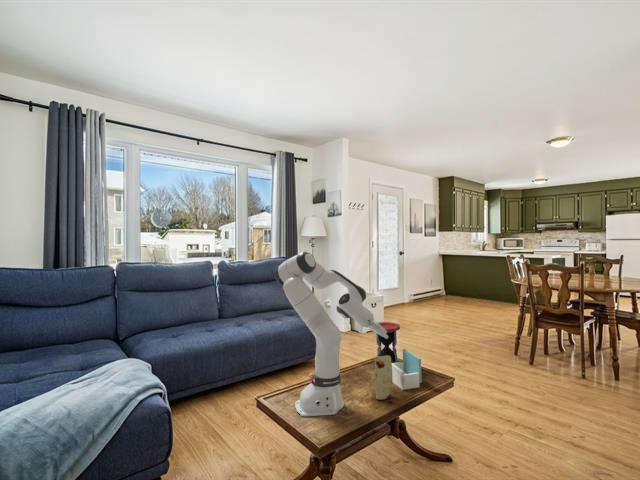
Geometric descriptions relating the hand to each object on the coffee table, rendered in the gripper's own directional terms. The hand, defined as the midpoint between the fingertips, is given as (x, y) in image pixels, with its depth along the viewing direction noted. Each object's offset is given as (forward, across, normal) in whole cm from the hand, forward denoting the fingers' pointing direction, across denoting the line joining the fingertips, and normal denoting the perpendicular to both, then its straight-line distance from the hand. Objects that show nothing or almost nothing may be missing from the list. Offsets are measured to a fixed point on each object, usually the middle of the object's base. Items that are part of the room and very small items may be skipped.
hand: (383, 335), depth 172 cm
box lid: (+27, 0, +6) cm, 28 cm away
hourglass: (+26, +20, +10) cm, 34 cm away
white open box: (+25, 0, +11) cm, 27 cm away
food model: (+13, -13, +23) cm, 30 cm away
